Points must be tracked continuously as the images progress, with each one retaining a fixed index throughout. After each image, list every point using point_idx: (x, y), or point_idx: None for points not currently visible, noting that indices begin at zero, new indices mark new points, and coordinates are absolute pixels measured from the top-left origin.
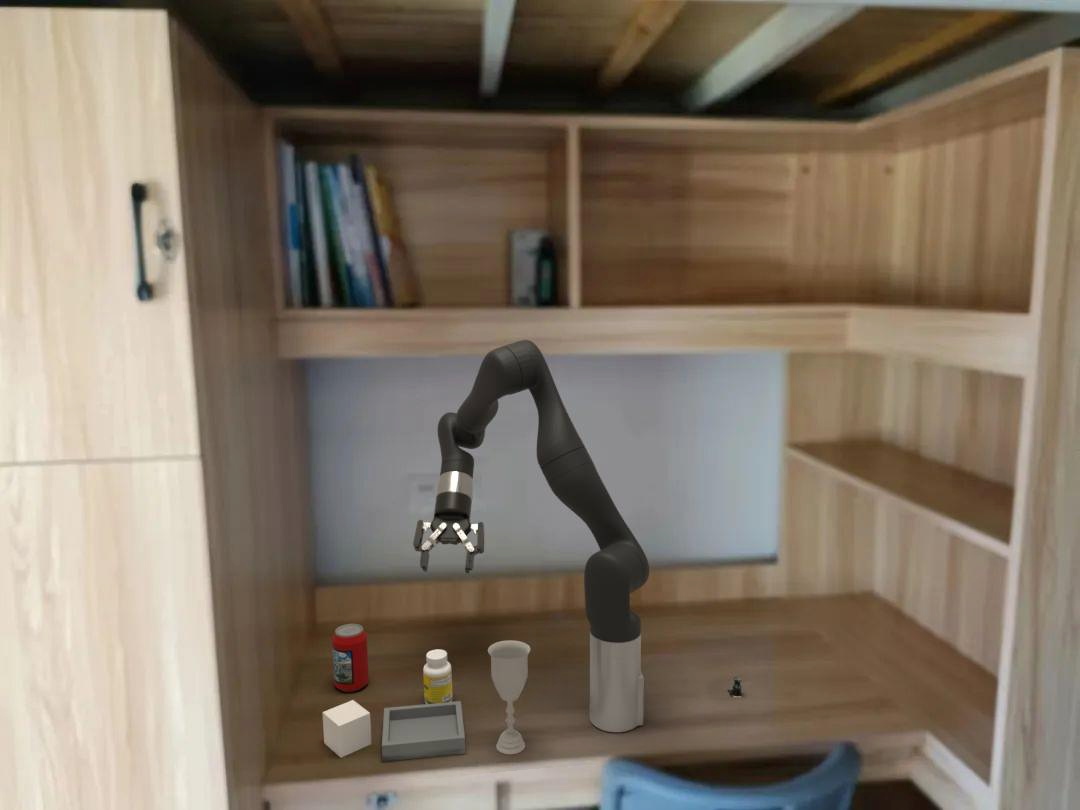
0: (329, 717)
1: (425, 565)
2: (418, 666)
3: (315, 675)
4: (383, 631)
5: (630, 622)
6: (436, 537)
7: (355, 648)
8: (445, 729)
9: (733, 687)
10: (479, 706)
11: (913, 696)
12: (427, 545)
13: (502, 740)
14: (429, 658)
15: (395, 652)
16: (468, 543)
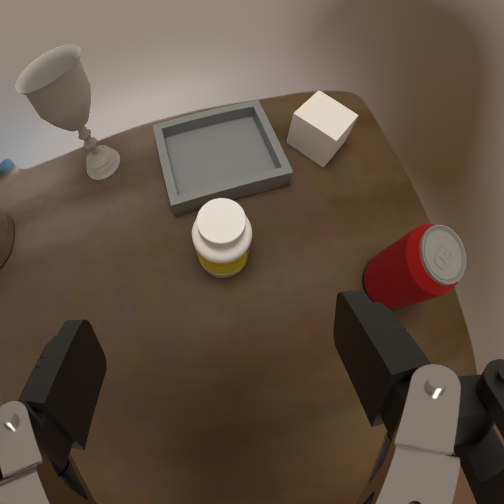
0: (342, 105)
1: (348, 296)
2: (300, 371)
3: (444, 301)
4: None
5: None
6: (376, 499)
7: (407, 235)
8: (188, 165)
9: None
10: (150, 248)
11: None
12: (423, 407)
13: (108, 147)
14: (232, 200)
15: (359, 411)
16: (12, 461)
